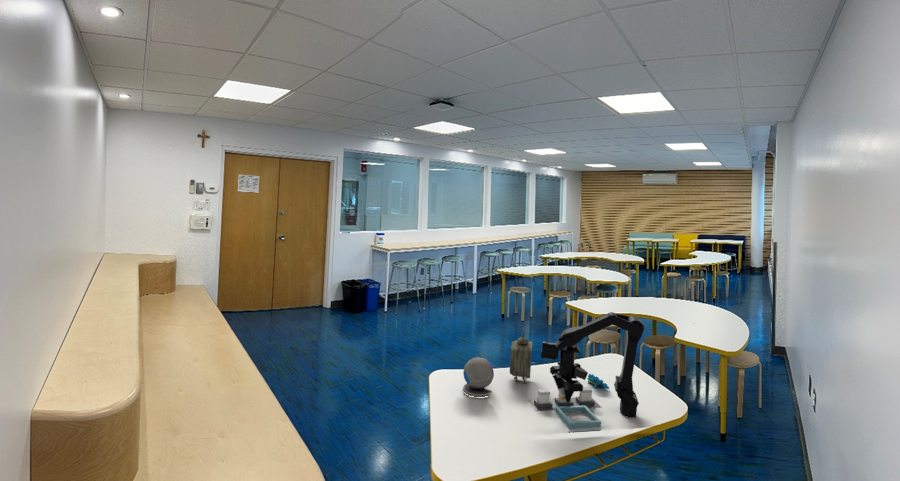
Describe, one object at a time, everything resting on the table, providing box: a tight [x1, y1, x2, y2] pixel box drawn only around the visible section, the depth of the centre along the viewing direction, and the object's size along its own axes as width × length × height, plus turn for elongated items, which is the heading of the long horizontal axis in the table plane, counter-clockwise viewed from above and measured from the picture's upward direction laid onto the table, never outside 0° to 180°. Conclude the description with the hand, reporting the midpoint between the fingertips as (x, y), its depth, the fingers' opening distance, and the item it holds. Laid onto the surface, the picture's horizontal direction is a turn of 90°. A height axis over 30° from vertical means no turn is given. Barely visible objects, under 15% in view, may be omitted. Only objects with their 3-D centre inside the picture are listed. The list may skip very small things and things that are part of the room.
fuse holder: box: [527, 396, 603, 412], centre depth 179 cm, size 9×28×3 cm, turn 100°
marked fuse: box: [557, 388, 571, 403], centre depth 178 cm, size 3×4×6 cm, turn 100°
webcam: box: [462, 356, 495, 397], centre depth 189 cm, size 13×13×15 cm
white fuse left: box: [536, 388, 551, 404], centre depth 177 cm, size 3×4×6 cm, turn 100°
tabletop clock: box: [509, 327, 533, 385], centre depth 201 cm, size 14×9×25 cm, turn 168°
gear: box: [586, 373, 610, 390], centre depth 195 cm, size 11×6×10 cm
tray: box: [554, 405, 602, 434], centre depth 167 cm, size 12×12×4 cm
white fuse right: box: [578, 386, 593, 401], centre depth 180 cm, size 3×4×6 cm, turn 100°
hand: (564, 398), depth 178 cm, fingers open, 6 cm apart
